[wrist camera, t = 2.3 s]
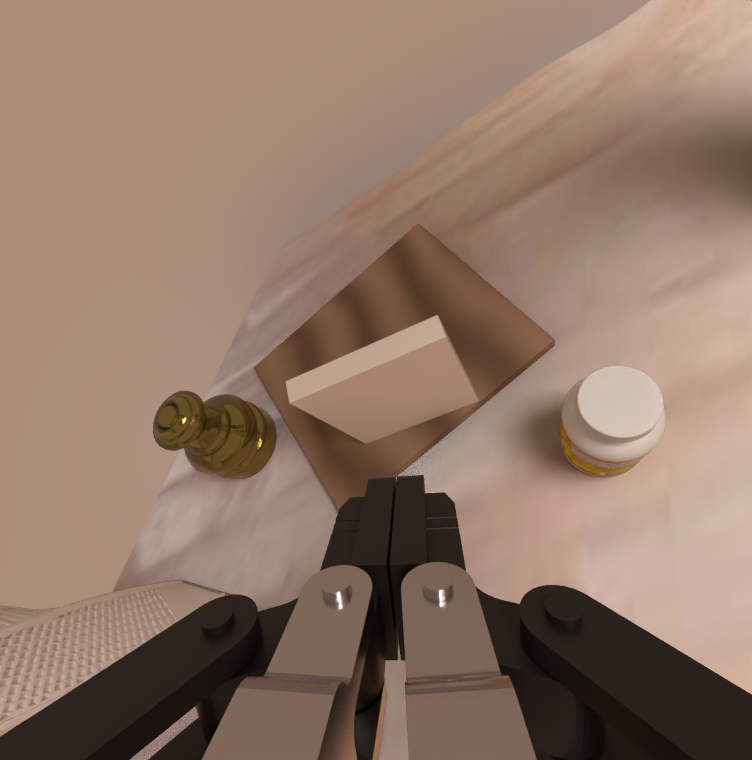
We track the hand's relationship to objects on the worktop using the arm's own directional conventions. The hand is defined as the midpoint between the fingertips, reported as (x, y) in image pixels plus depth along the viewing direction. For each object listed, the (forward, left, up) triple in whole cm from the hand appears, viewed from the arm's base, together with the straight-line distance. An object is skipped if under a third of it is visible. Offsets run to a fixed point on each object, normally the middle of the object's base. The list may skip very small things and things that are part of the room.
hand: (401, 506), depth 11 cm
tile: (-1, -10, -21) cm, 23 cm away
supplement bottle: (-10, 0, -22) cm, 25 cm away
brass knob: (+14, -20, -22) cm, 33 cm away
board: (-2, -17, -22) cm, 28 cm away
